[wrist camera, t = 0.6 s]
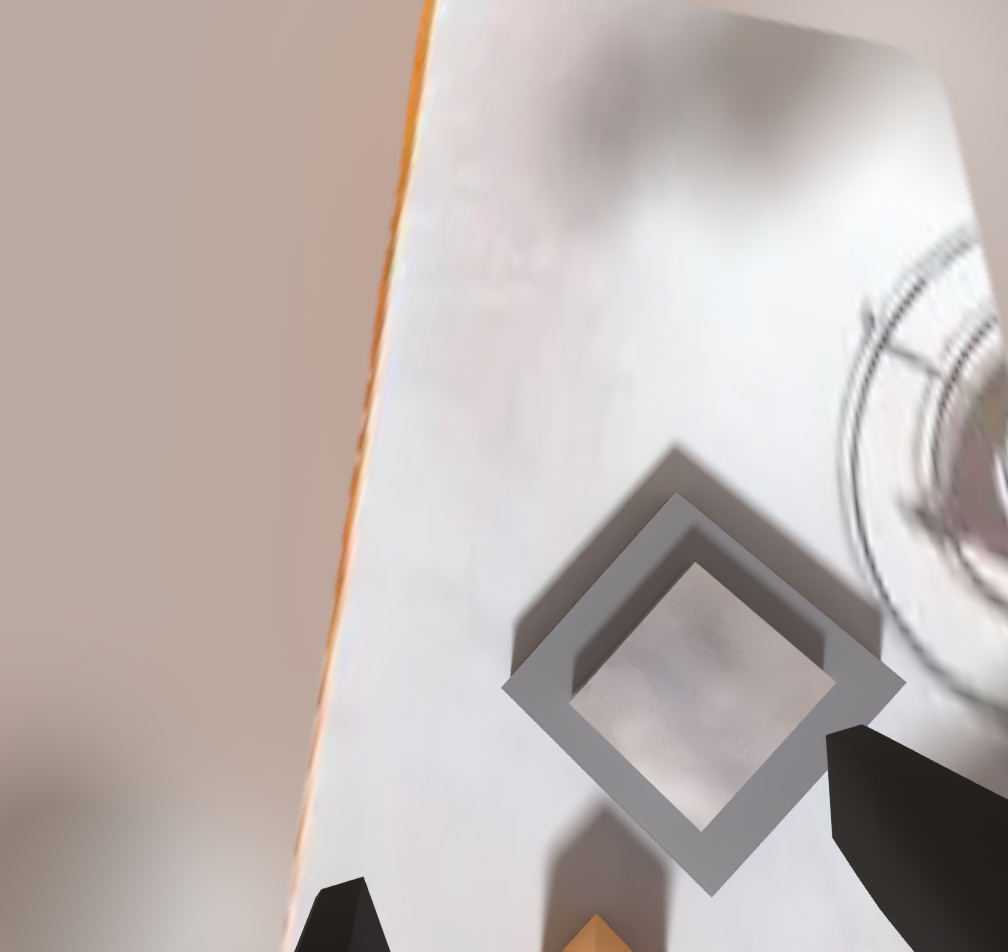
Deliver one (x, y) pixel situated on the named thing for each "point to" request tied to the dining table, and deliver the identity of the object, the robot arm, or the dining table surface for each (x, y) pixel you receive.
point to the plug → (596, 938)
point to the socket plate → (610, 617)
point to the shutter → (700, 694)
